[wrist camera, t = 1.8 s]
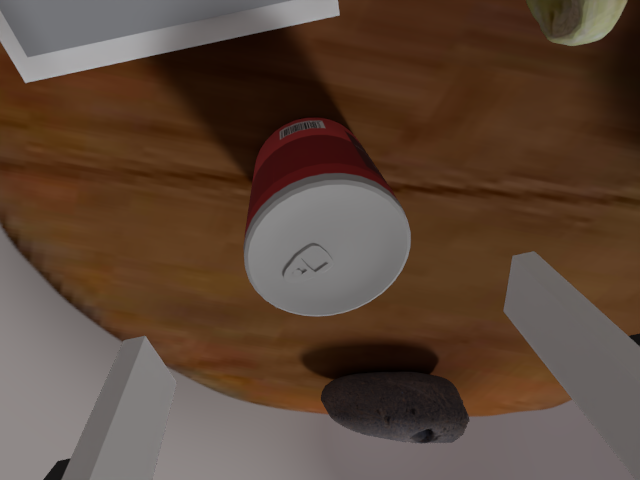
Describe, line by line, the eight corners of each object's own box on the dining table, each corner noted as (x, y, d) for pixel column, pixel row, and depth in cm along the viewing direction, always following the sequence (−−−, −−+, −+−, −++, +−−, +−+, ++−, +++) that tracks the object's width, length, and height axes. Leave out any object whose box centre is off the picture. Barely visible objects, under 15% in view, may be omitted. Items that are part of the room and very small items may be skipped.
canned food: (234, 183, 25) (210, 279, 16) (298, 87, 22) (314, 139, 13) (318, 233, 28) (338, 338, 19) (384, 155, 25) (446, 235, 16)
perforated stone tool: (313, 388, 40) (320, 452, 34) (323, 358, 37) (332, 422, 31) (433, 392, 43) (457, 452, 37) (450, 365, 40) (480, 424, 34)
